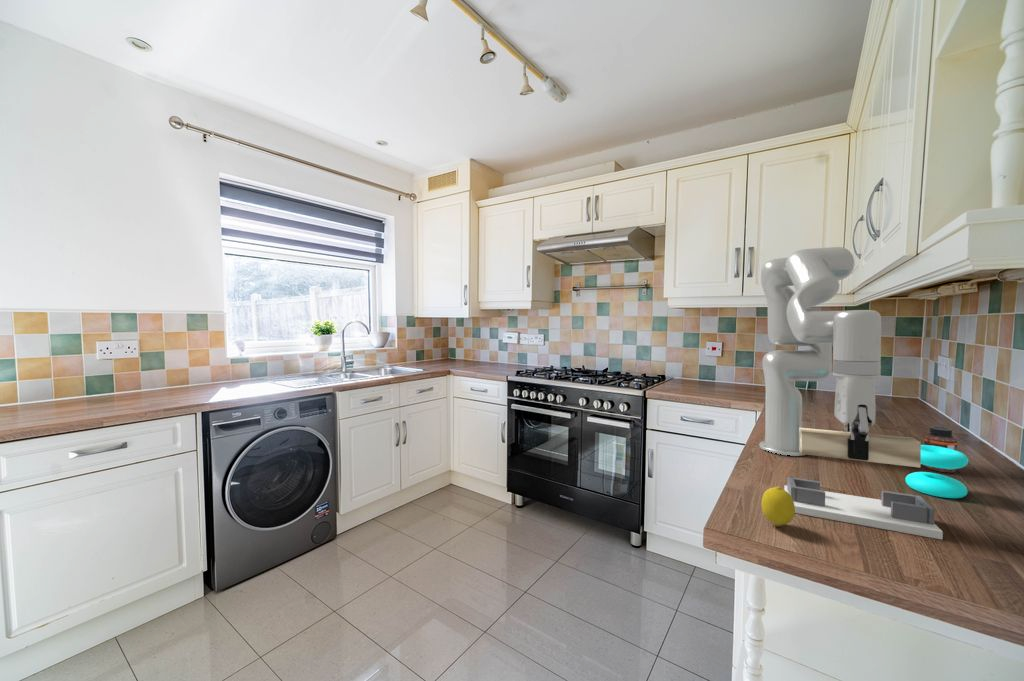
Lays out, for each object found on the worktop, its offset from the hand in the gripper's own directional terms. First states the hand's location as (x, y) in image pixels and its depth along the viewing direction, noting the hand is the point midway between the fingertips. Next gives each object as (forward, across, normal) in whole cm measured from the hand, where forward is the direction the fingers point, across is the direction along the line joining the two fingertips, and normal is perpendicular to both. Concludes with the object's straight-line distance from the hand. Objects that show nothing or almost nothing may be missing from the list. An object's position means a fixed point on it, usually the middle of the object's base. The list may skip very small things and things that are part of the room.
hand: (855, 455), depth 83 cm
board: (+12, 0, 0) cm, 12 cm away
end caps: (+11, 0, 0) cm, 11 cm away
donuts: (+12, -22, +19) cm, 32 cm away
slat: (+1, 0, 0) cm, 1 cm away
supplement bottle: (+12, -42, +26) cm, 51 cm away
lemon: (+13, +14, -15) cm, 24 cm away
